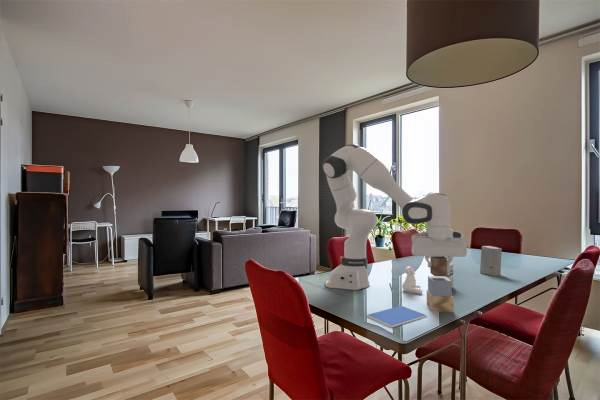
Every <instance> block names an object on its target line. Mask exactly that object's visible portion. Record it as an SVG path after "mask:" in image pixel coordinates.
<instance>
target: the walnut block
mask: <svg viewBox="0 0 600 400" xmlns="http://www.w3.org/2000/svg"><path fill="white" fill-rule="evenodd" d="M429 261H430V262H431V263H433V265H432V266H433V267H432V268H430V269H429V270H430V274H431V276H447V261H448V258H447V257H441V256H430V259H429Z"/></svg>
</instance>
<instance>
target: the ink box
mask: <svg viewBox="0 0 600 400" xmlns="http://www.w3.org/2000/svg"><path fill="white" fill-rule="evenodd" d="M445 277H447V278H448V279H450V280H451V281H452V289H453V288H454V263H450V268H447V276H445Z"/></svg>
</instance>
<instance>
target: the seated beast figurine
mask: <svg viewBox="0 0 600 400" xmlns="http://www.w3.org/2000/svg"><path fill="white" fill-rule="evenodd" d="M404 271H405V274H406V277H405V280H404V281H403V283H402V290H403V291H405V292H406V293H411V294H416V295H423V290H422V289H421V285H419V284H417V282H416V278H415V275H416V273H415V268H413V267H412V265H408V266H406V267H405V269H404Z"/></svg>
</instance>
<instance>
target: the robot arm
mask: <svg viewBox="0 0 600 400" xmlns="http://www.w3.org/2000/svg"><path fill="white" fill-rule="evenodd" d="M321 167H322V168H321V169H322V171H323V173H324V175H326V181H327V184H328V187H329V189H330V192H331V194H332V196H333V199H334V203H335V205H336V213H335V215H334V223H335V226H337V227H338V228H340V229H343V230H350V233H349V236H348V238H347V239H345V240H344V247H343V250H344V255H343V256H342V255H341V256H340V257H339V261H340V264H339V265H338V266H336V267H335V268H334V269H332V270H331V272H330V275H329V279H326V280H325V284H324V285H325V286H326V288H329V289H330V288H331V289H341V290H354V291H359V290H361V289H366V288H369V287H370V281H369V277H368V271H367V270H368V257H367V243H368V238H369V236H370V233H371V232H372V230H374V229H375V227H376V226H377V223H378V217H377V215H376V213H375V212H374V211H372V210H369V209H365V208H356V207H355V201H356V199H357V192H356V190H355V188H354V184H353V182H352V180H351V178H350V175H349V172H351V171H353V172H354V173H355V174H356V175H357V176H358V177H359V178H360V179H361V180H362V181H363V182H365V183H366V184H367V185H369V186H370V187H371V188H373V189H375V190H377V191H380V192H382V193H384V194H386V195H387V196H388V197H389V198H390V199H391V200H392V201H394V203H396V205H398V206H399V208H400V209H401V216H402V217H403V220H404V221H405V222H407V223H408V224H411V225H420V224H424V223H425V226H426V231H425V232H414V233H413V234H411V236H410V237H411V238H410V239H411V243H412V244H411V254H412V255H413V257H414V256H415V257H424V259H425V261H426V263H427V268H432V267H433V266H432V265H433V263H431V262H430V256H441V257H446V258H447V268H450V264H452V262H453V259H454V258H455V257H456V258H459V257H460V258H464V257H466V256H467V255H468V250H467V242H466V241H465V233H464V232H461V231H458V230H456V229H452V228H451V222H450V218H451V203H450V199H449V198H450V197H449V196H447V195H446V194H445V193H440V192H432V191H431V192H430V191H429V192H427V194H425V195H424V196H422V197H419V198H417V199H414V198H413V197H411V196H410V195H409V194H408V193H407V192H406V191H405V190H404V189H403V188H402V187H401V186H400V185H398V183H397V182H396V180H395V179H394V177H393V175H392V174H391V172H390V171H389V168H388V167H387V166H386V165H385V164H384V163H383V162H382V161H381V160H380V159H379V158H378V157H377V156H376V155H375V154H373V152H371V151H370V150H368V149H366V148H365V147H361V146H360V145H359V144H356V143H350V144H347V145H345V146H343V147H341V148H339V149H338V150H336V151H334V152H333V153H332V154H331V155H329V156H327V157H326V158H325V159H324V160H323V161H322V165H321Z"/></svg>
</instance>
